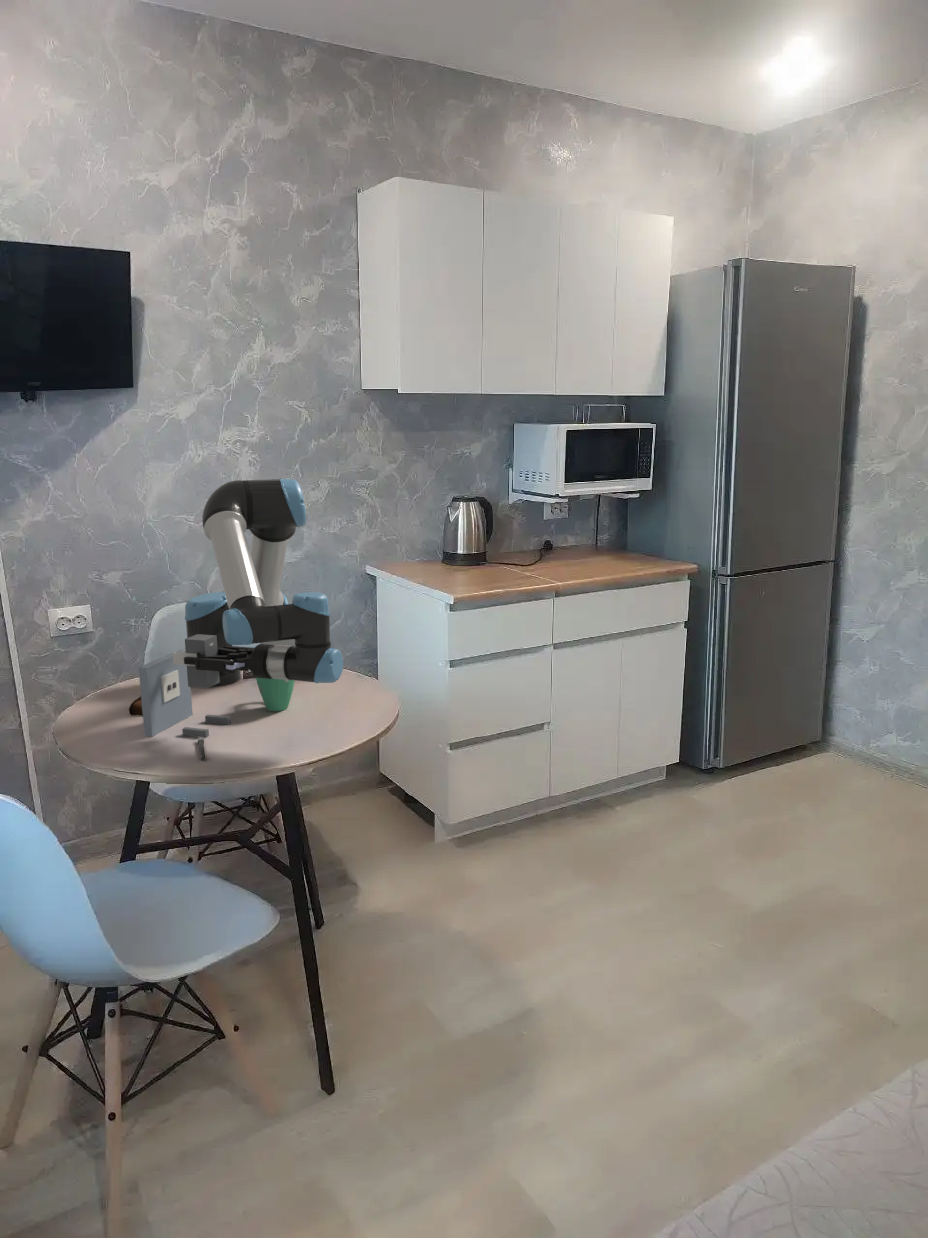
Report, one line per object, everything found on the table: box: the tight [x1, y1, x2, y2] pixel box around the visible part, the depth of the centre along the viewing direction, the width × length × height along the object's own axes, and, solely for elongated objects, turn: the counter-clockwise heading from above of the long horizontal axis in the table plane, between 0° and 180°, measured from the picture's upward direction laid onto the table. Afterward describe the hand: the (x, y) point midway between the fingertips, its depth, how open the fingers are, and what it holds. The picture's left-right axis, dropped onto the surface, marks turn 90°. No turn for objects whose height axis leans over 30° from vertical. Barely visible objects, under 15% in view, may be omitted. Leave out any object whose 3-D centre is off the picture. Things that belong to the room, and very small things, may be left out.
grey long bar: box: [197, 737, 207, 761], centre depth 194 cm, size 12×1×1 cm, turn 18°
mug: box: [255, 677, 295, 712], centre depth 224 cm, size 15×10×10 cm
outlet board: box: [138, 649, 232, 738], centre depth 207 cm, size 16×14×16 cm
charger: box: [184, 634, 220, 689], centre depth 205 cm, size 5×6×11 cm
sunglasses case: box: [128, 695, 143, 717], centre depth 226 cm, size 18×7×7 cm
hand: (181, 655), depth 206 cm, fingers closed on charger, 5 cm apart
